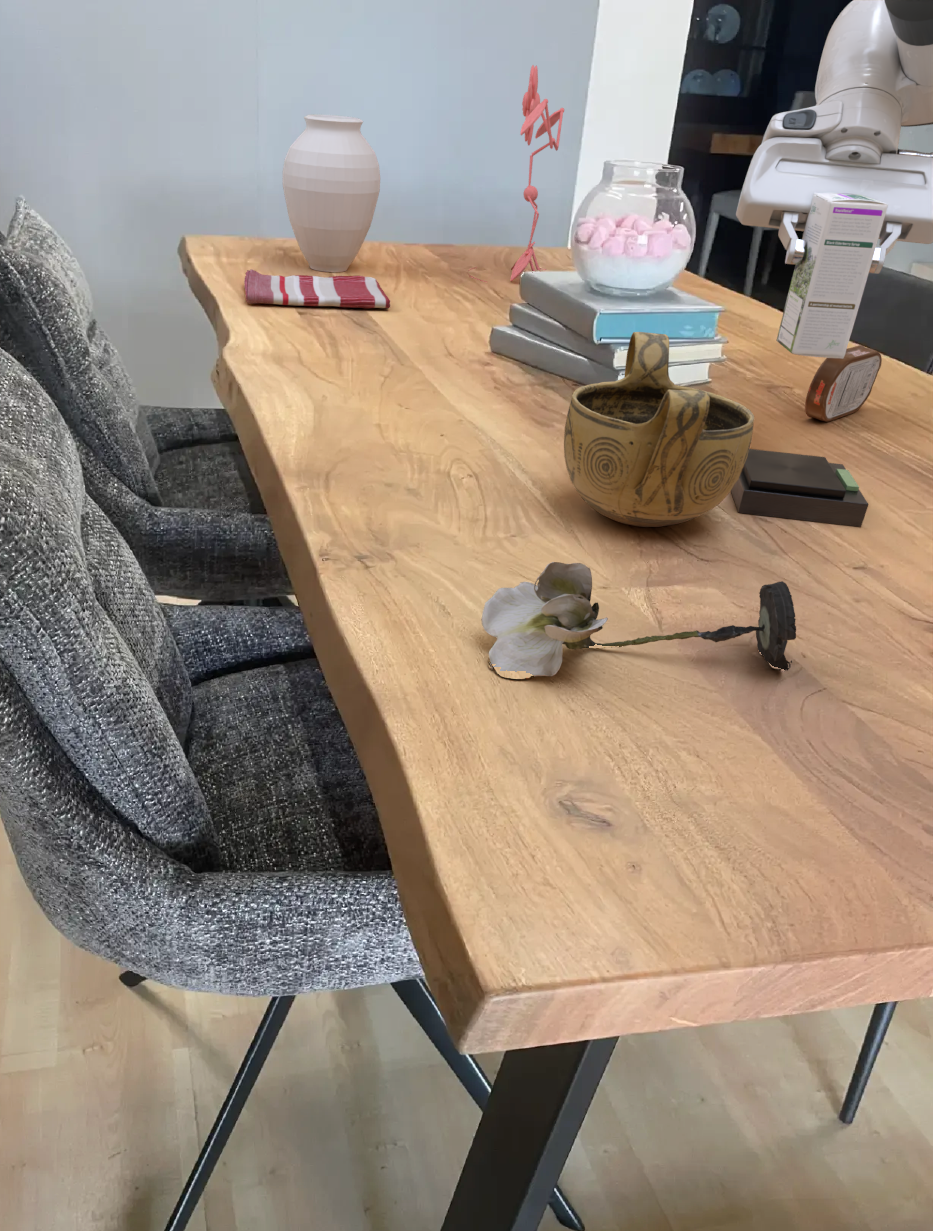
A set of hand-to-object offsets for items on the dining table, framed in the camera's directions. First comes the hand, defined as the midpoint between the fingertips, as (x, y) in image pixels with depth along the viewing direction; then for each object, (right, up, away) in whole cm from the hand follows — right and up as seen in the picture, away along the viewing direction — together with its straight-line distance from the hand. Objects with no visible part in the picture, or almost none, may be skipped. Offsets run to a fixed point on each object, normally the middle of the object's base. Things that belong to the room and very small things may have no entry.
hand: (833, 264), depth 105 cm
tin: (+14, -6, +33) cm, 36 cm away
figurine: (-22, +42, +100) cm, 111 cm away
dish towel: (-57, +26, +72) cm, 95 cm away
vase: (-56, +41, +95) cm, 118 cm away
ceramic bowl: (-20, -25, -2) cm, 32 cm away
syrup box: (0, -7, +5) cm, 9 cm away
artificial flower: (-26, -42, -27) cm, 56 cm away
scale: (-2, -22, +5) cm, 23 cm away
